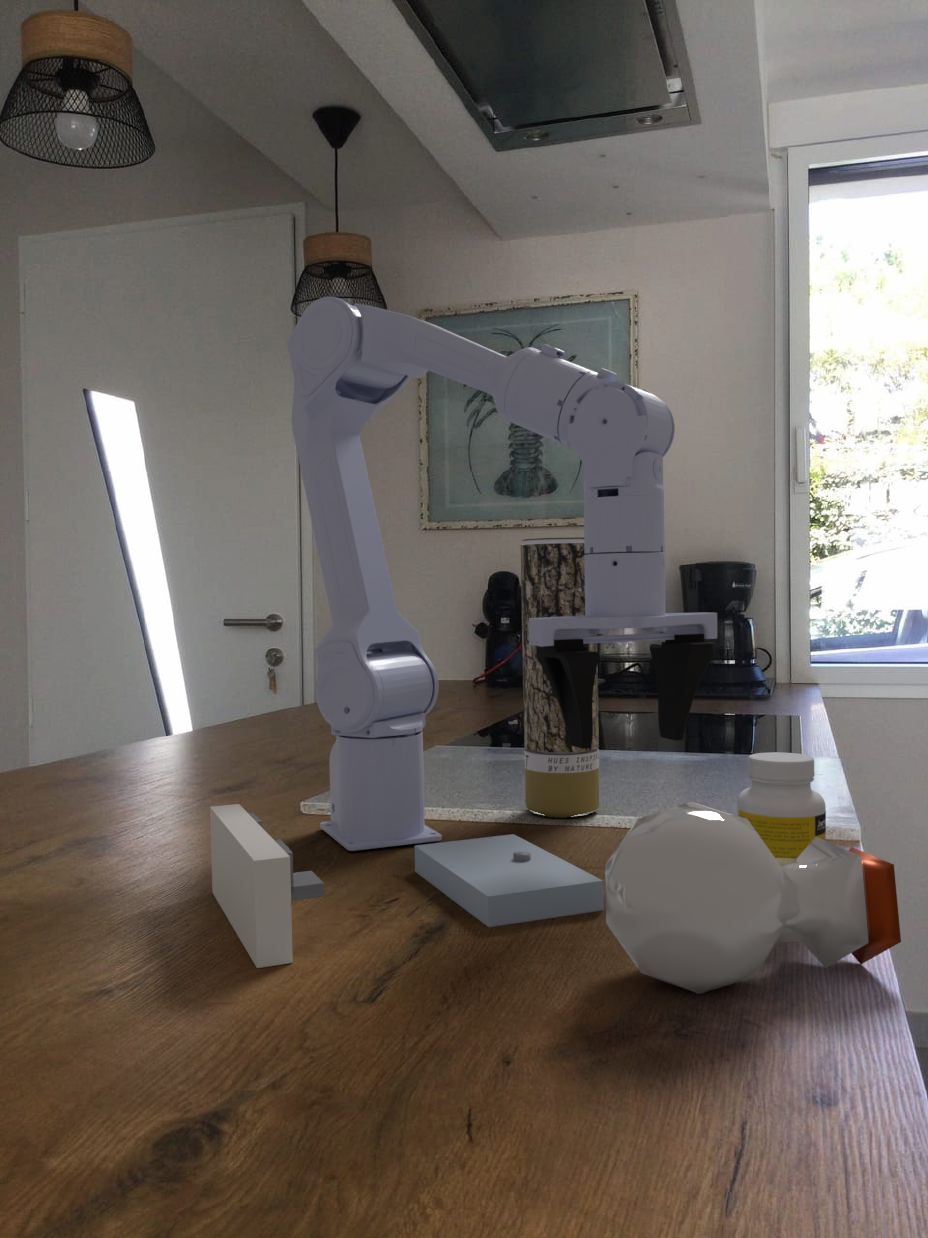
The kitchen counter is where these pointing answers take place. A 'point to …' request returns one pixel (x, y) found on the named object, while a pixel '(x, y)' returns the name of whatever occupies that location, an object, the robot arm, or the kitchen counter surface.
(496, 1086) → the kitchen counter surface
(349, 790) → the robot arm
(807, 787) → the supplement bottle
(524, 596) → the paper tube
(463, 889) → the door
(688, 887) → the potion bottle
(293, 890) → the side panel
